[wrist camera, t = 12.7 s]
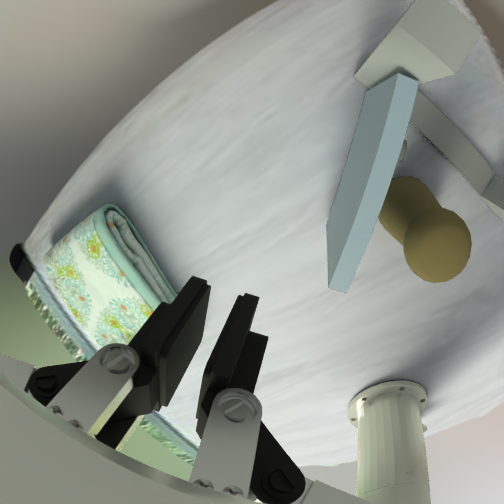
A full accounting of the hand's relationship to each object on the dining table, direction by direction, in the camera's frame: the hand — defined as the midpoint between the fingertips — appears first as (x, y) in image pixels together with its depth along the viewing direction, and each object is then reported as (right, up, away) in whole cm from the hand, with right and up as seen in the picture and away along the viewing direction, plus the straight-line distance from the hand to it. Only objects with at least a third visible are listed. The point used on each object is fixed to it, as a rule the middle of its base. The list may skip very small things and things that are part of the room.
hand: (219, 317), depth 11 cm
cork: (+16, +7, +15) cm, 23 cm away
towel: (-17, -3, +28) cm, 33 cm away
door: (+11, +10, +13) cm, 20 cm away
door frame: (+19, +13, +11) cm, 26 cm away
